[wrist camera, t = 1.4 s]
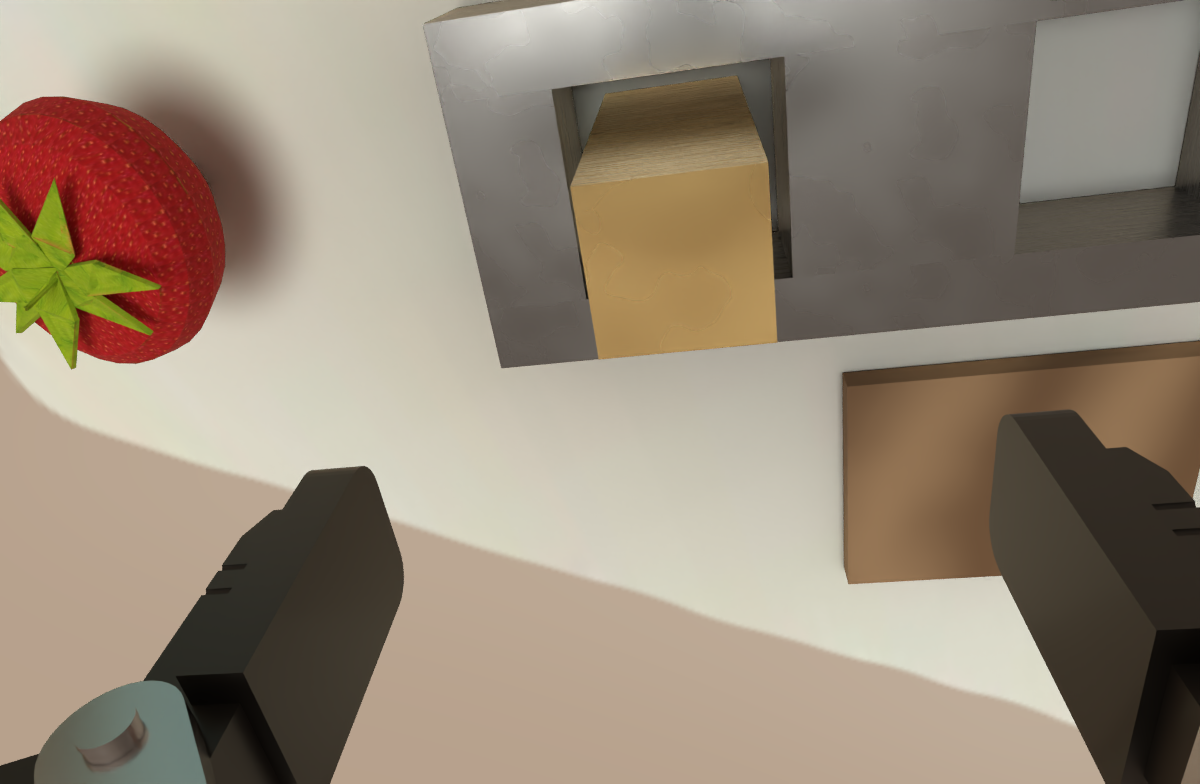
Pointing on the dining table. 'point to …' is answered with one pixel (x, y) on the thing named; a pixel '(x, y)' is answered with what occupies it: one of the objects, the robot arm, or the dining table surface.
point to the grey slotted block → (810, 163)
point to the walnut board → (991, 445)
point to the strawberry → (104, 231)
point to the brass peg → (676, 221)
